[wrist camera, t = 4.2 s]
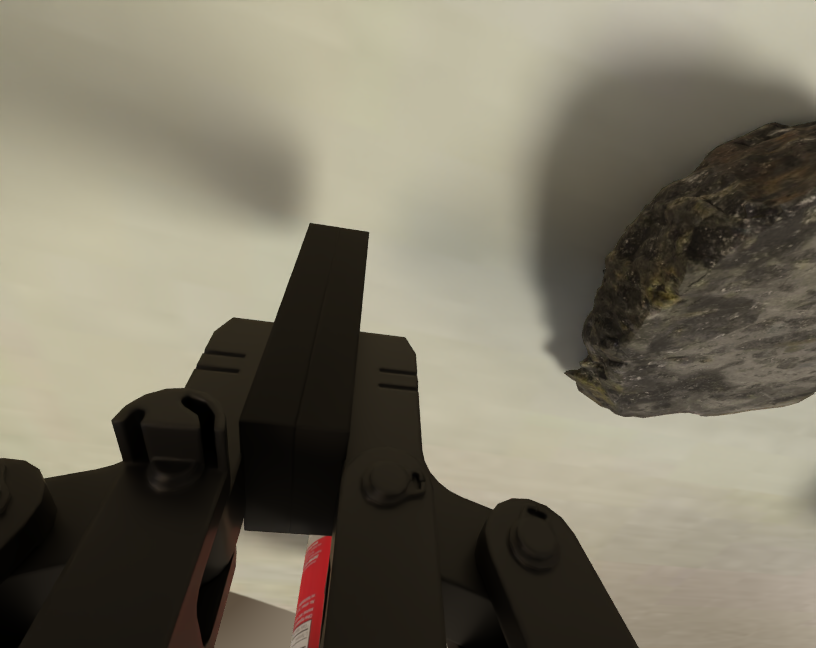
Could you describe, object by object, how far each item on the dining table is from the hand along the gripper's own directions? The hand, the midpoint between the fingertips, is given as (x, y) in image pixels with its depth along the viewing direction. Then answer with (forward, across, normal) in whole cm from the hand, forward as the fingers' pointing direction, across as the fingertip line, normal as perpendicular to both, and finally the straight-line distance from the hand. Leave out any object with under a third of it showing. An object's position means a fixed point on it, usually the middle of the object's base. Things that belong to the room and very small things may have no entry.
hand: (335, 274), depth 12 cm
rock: (+4, +13, 0) cm, 13 cm away
